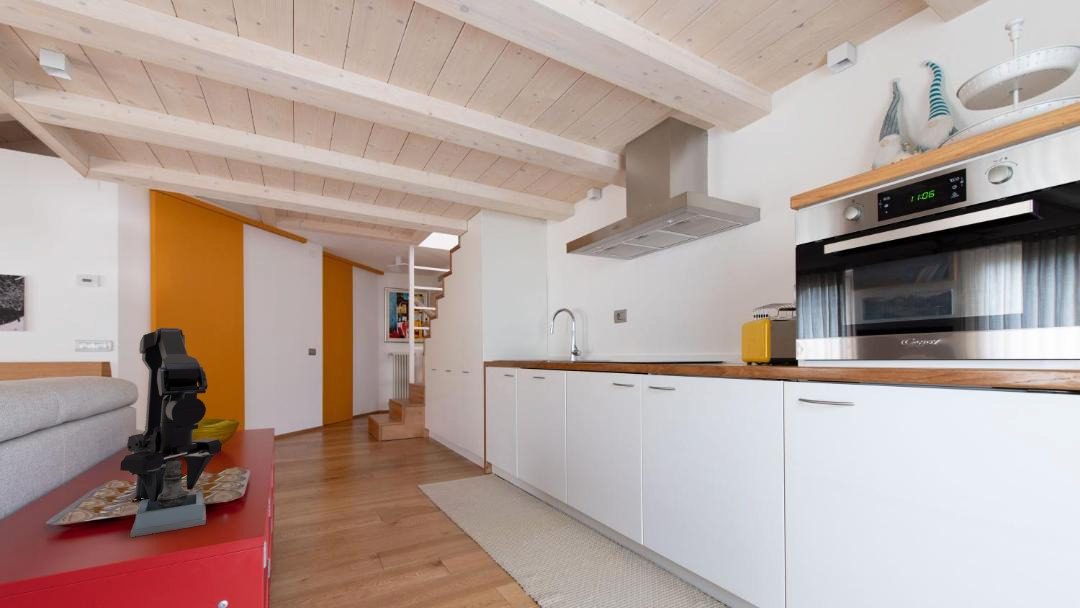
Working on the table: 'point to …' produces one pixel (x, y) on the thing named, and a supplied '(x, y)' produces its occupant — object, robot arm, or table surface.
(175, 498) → the grey stone tall figure
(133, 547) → the table surface
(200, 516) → the holder
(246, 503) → the table surface
